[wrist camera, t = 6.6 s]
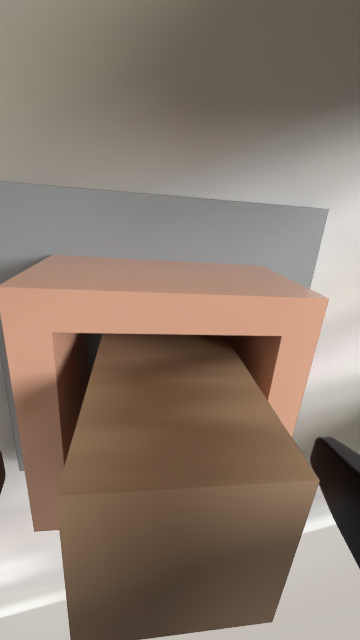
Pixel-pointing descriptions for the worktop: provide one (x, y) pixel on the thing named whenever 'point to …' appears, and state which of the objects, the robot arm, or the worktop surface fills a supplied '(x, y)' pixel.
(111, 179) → the worktop surface
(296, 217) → the terracotta well
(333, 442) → the robot arm
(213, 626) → the walnut block
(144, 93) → the worktop surface
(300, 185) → the worktop surface
